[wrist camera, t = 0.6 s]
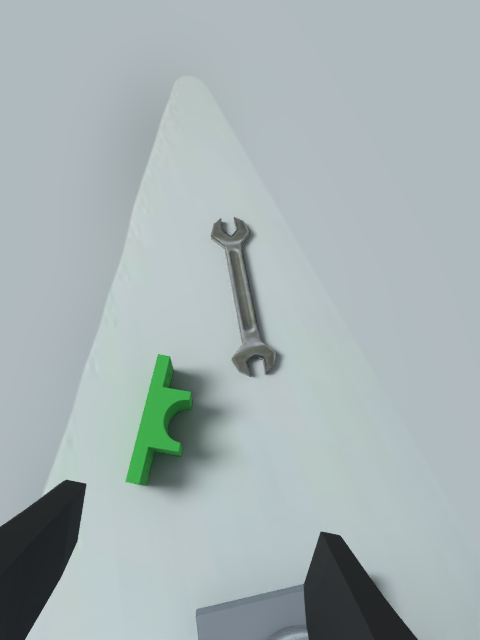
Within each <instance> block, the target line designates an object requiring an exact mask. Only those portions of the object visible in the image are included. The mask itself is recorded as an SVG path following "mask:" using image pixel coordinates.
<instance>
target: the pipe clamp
mask: <svg viewBox="0 0 480 640" xmlns="http://www.w3.org/2000/svg"><path fill="white" fill-rule="evenodd" d="M172 374H173V366H172V362H171V359H170V356H165V355H159V354H158V357H157V361H156V365H155V369H154V372H153V376H152V380H151V384H150V388H149V392H148V396H147V400H146V404H145V408H144V412H143V416H142V419H141V423H140V427H139V431H138V435H137V439H136V443H135V447H134V451H133V455H132V459H131V462H130V466H129V470H128V474H127V478H126V482H129V483H135V484H141V485H147V481H148V477H149V473H150V469H151V464H152V460H153V456H154V452H158V453H164V454H170V455H176V456H182V451H183V447H182V445H181V443H180V442H176V441H174V440H173V439H171V438H170V437H169V435H168V425H169V422H170V420H171V418H172V417H173V416H174V415H175V414H176V413H178V412H179V411H182V410H191V408H192V403H193V402H192V396H191V392H189V391H183V390H177V389H171V388H169V387H170V383H171V379H172Z"/></svg>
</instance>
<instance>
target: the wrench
mask: <svg viewBox="0 0 480 640" xmlns="http://www.w3.org/2000/svg"><path fill="white" fill-rule="evenodd" d="M234 224H235V228H236V231H235V232H234V234H233V235H232V236H230V235H229V234H227V233H226V232H224V231H223V230H222V222H221V218H220V219H219V220H218V221H217V222H216V223H214V225H213V229H212V233H211V239H212V240H213V241H214V242H216V243H217V244H218V245H220V246H221V247H223V248H224V249H225V254H226V259H227V265H228V270H229V275H230V281H231V286H232V292H233V297H234V302H235V308H236V313H237V319H238V324H239V330H240V335H241V340H242V345H241V346H240V348H239V349H238V350H237V352H236V353H235V355H234V356H233V357H232V362H233V364H234V365H235V367H236V368H237V370H238V371H239V372H240V373H243V374H245V375H247V376H249V377H250V371H249V367H248V364H247V361H248V359H249V358H251V357H253V356H256V357H257V358H259V359H260V360H263V365H264V372H265V374H266V373H267V372H268V371H269V370H270V369H271V368H272V367H273V366H274V362H275V358H276V353H277V352H276V351H275V350H273V349H272V348H271V347H269V346H268V345H266V344H265V343H264V342H262V341H261V340H260V335H259V330H258V325H257V320H256V315H255V310H254V305H253V301H252V296H251V291H250V286H249V281H248V276H247V271H246V267H245V262H244V257H243V252H242V247H241V246H242V245H243V243H244V242H245V240H246V239H247V238H248V236H249V234H250V230H249V229H248V228H247V226H246V225H245V223H244V222H243V221H242V220H240V219H237V218H235V217H234Z"/></svg>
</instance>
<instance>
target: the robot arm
mask: <svg viewBox="0 0 480 640" xmlns="http://www.w3.org/2000/svg"><path fill="white" fill-rule="evenodd" d="M85 490H86V484H85V483H80V482H75V481H70V480H65V481H63V482H62V483H60V484H59V485H58V486H56V487H55V488H54V489H52V490H51V491H50V492H48V493H47V494H46V495H44V496H43V497H42V498H40V499H39V500H38V501H36V502H35V503H33V504H32V505H31V506H29V507H28V508H27V509H25V510H24V511H23V512H21V513H19V514H18V515H17V516H15V517H14V518H12V519H11V520H9V521H8V522H7V523H5V524H4V525H2V526H1V527H0V640H25V638H26V637H27V635H28V633H29V632H30V630H31V628H32V626H33V625H34V623H35V621H36V620H37V618H38V616H39V615H40V613H41V611H42V609H43V608H44V606H45V604H46V603H47V601H48V599H49V597H50V596H51V594H52V592H53V590H54V589H55V587H56V585H57V583H58V582H59V580H60V578H61V576H62V574H63V572H64V570H65V568H66V565H67V563H68V561H69V559H70V557H71V554H72V552H73V550H74V548H75V545H76V543H77V540H78V534H79V527H80V521H81V515H82V509H83V502H84V496H85ZM304 602H305V615H306V626H307V632H308V638H309V640H418V639H417V638H416V637H415V636H414V634H413V633H412V632H411V631H410V629H409V628H408V627H407V626H406V624H405V623H404V622H403V621H402V619H401V618H400V617H399V616H398V614H397V613H396V612H395V611H394V609H393V608H392V607H391V605H390V604H389V603H388V601H387V600H386V599H385V597H384V596H383V595H382V593H381V592H380V591H379V589H378V588H377V587H376V585H375V584H374V582H373V581H372V580H371V578H370V577H369V576H368V574H367V573H366V571H365V570H364V568H363V567H362V566H361V564H360V563H359V561H358V560H357V558H356V557H355V556H354V554H353V553H352V551H351V550H350V548H349V547H348V545H347V544H346V543H345V541H344V540H343V539H342V537H341V536H340V535H336V534H331V533H326V532H320V536H319V539H318V542H317V545H316V548H315V551H314V554H313V558H312V561H311V564H310V567H309V570H308V573H307V576H306V580H305V583H304Z"/></svg>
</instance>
